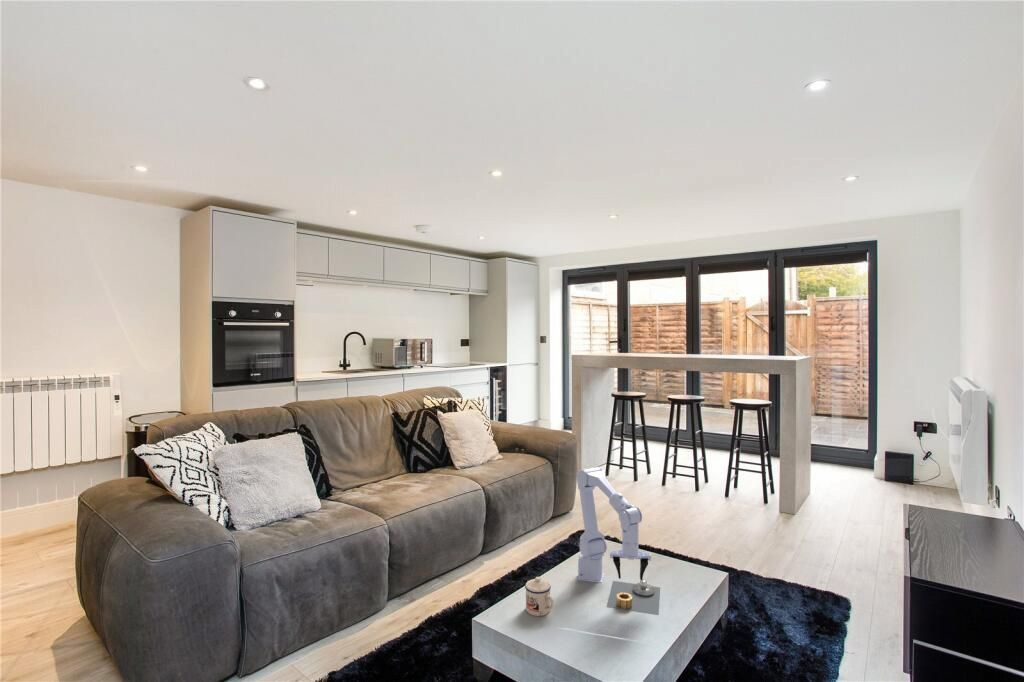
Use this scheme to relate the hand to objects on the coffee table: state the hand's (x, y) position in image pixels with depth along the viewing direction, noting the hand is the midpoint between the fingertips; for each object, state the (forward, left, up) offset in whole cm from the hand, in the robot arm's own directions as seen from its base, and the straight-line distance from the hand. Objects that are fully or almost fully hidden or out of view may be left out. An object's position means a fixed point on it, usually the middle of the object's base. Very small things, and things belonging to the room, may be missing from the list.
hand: (630, 578), depth 191 cm
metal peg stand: (+4, +10, -9) cm, 14 cm away
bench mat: (+1, +5, -10) cm, 11 cm away
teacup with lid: (-30, -14, -10) cm, 35 cm away
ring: (-2, -2, -9) cm, 10 cm away
